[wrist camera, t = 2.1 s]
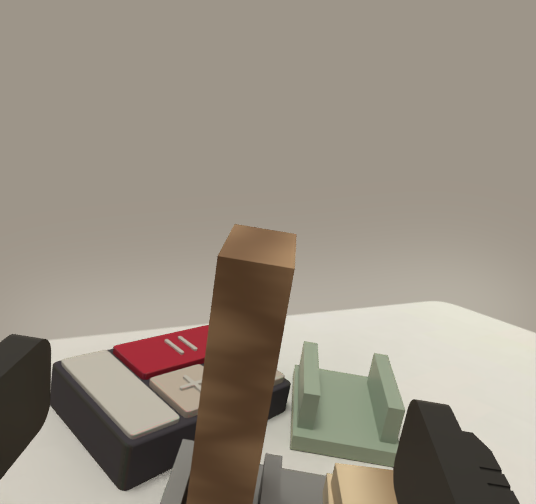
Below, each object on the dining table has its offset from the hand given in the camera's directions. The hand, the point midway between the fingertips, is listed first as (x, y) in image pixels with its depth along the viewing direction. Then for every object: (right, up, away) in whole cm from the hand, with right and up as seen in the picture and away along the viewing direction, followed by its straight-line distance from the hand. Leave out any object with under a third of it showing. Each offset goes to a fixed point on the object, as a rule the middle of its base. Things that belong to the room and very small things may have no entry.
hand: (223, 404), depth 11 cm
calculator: (-7, -9, +29) cm, 31 cm away
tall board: (-2, -12, +16) cm, 20 cm away
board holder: (+7, -10, +30) cm, 33 cm away
